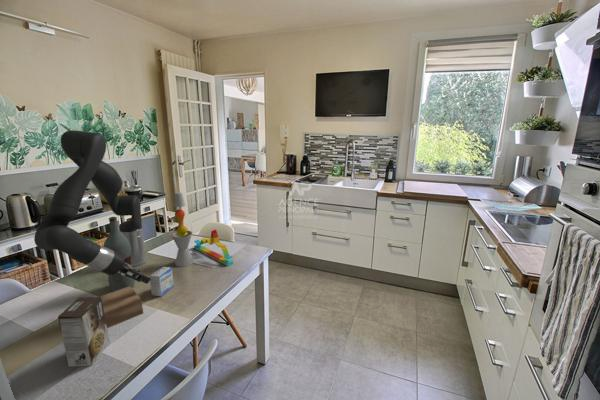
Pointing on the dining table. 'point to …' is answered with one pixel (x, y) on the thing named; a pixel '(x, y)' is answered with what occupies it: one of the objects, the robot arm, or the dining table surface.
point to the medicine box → (161, 281)
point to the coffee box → (84, 331)
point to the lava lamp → (181, 235)
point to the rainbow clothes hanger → (210, 253)
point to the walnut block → (121, 306)
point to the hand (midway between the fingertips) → (143, 277)
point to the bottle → (121, 246)
